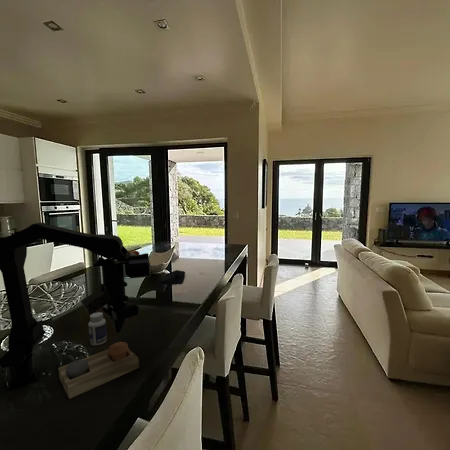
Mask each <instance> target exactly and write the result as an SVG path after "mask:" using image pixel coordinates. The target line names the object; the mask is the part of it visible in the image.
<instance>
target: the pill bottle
mask: <svg viewBox="0 0 450 450" xmlns="http://www.w3.org/2000/svg"><path fill="white" fill-rule="evenodd" d="M103 314H104V313H103V312H102V311H101V312H98V311H97V312H95V313H93V314H89V318H90V319H89V322H88V334H89V335H88V336H89V343H90V346H100V345H103V344H105V343H106V342H107V340H108V336H107V334H108V333H107V323H106V319H105V318H104V315H103Z"/></svg>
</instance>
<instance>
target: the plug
mask: <svg viewBox="0 0 450 450" xmlns="http://www.w3.org/2000/svg"><path fill="white" fill-rule="evenodd" d="M68 364H69V365H68ZM68 364H67V365H68V366H67V367H66V374H67V376H69V377H70V380H71V379H74V378H76V377H78V376H81V375H83V374H86V371H87V370H88V368H89V367H88V361H87V360H81V359H78V360H75V361H72V362H70V363H68Z"/></svg>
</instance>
